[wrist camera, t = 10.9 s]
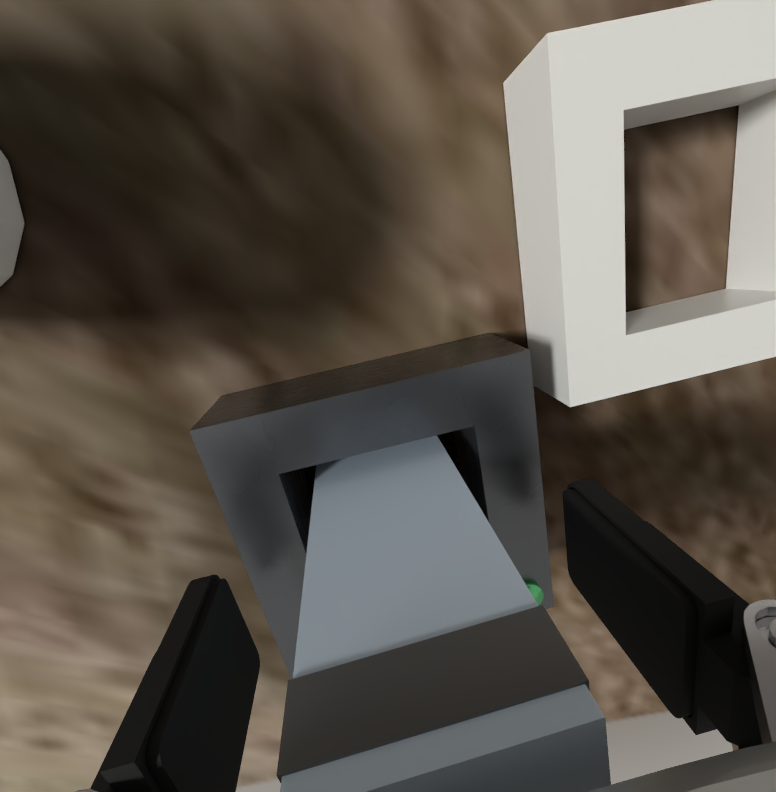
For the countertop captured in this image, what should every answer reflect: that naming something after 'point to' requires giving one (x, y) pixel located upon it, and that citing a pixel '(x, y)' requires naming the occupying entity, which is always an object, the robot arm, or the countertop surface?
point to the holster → (604, 195)
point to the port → (368, 431)
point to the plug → (426, 646)
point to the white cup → (9, 221)
